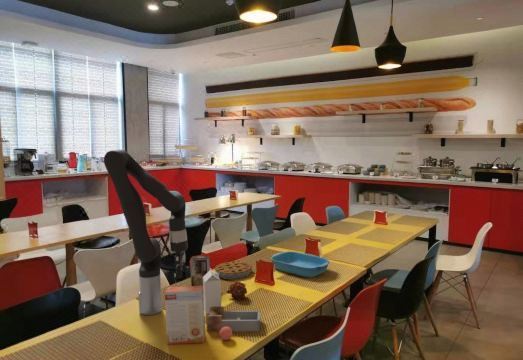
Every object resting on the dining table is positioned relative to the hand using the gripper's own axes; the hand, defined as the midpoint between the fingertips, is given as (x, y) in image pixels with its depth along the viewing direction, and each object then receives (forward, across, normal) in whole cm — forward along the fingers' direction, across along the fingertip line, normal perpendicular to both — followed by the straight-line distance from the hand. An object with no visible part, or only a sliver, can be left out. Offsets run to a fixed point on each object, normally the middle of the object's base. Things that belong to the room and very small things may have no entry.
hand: (181, 274), depth 177 cm
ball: (+16, +26, +20) cm, 36 cm away
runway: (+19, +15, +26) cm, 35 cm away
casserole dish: (+21, -53, +60) cm, 82 cm away
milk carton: (+18, 0, +12) cm, 22 cm away
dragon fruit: (+19, -15, +23) cm, 33 cm away
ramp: (+18, +15, +16) cm, 28 cm away
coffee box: (+18, -29, +4) cm, 34 cm away
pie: (+19, -50, +21) cm, 57 cm away
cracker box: (+18, +26, +4) cm, 31 cm away
